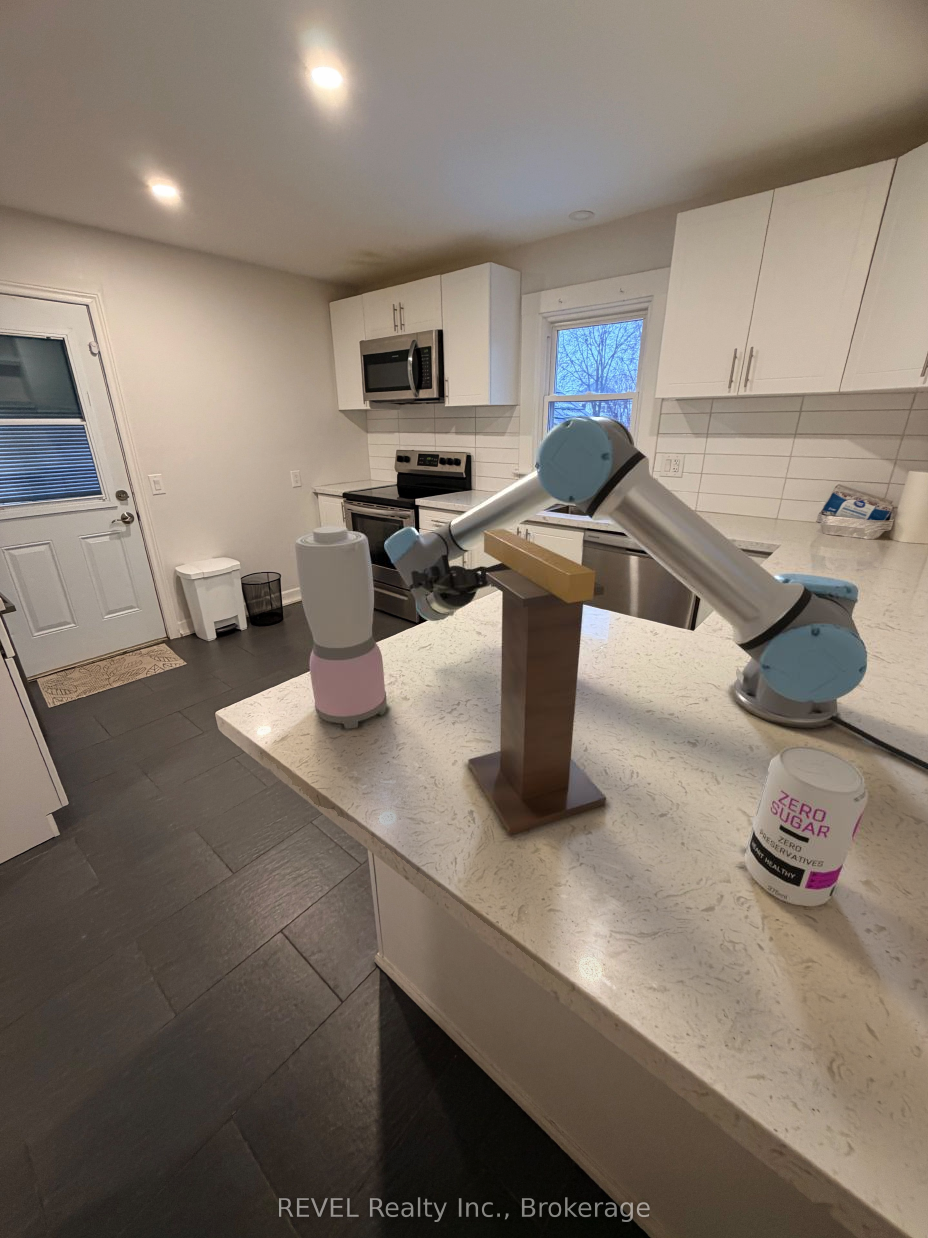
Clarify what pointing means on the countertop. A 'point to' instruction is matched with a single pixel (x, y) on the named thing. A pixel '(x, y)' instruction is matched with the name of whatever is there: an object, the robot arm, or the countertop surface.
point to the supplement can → (805, 824)
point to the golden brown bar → (541, 565)
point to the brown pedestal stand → (536, 709)
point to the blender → (341, 624)
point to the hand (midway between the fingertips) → (491, 558)
